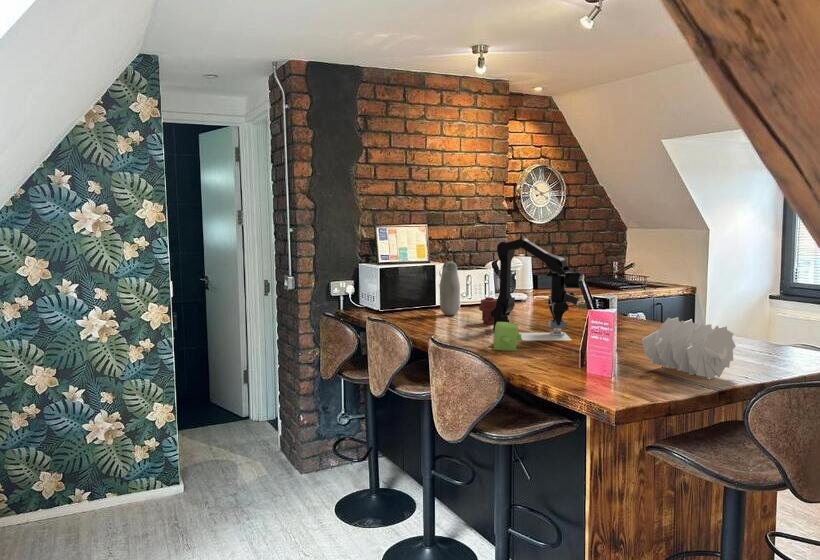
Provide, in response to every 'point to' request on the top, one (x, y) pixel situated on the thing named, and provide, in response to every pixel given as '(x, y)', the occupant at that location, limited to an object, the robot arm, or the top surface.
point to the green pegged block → (506, 336)
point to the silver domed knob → (557, 332)
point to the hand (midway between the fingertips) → (557, 323)
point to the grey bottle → (449, 289)
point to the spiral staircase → (690, 347)
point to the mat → (544, 337)
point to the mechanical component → (487, 309)
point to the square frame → (554, 325)
